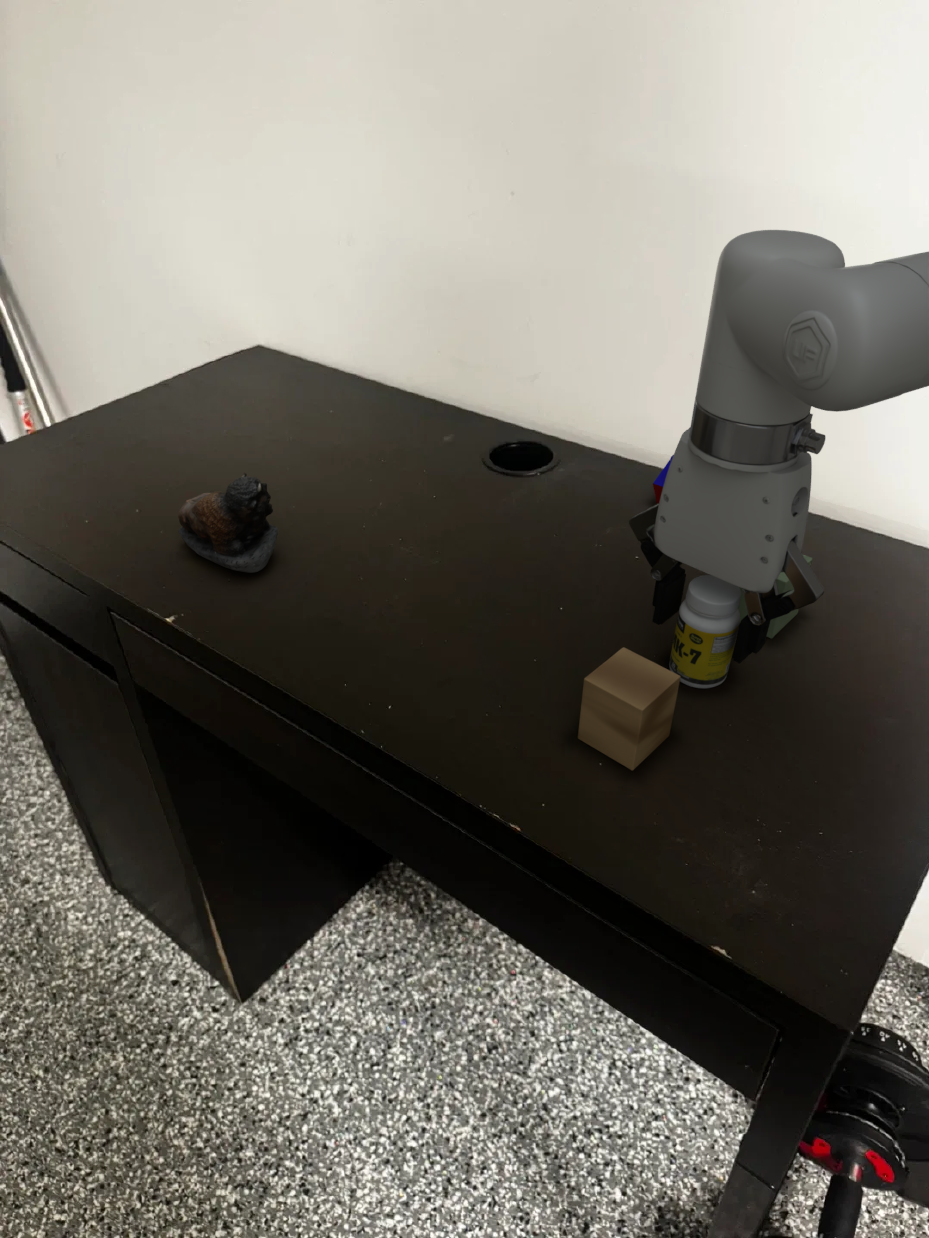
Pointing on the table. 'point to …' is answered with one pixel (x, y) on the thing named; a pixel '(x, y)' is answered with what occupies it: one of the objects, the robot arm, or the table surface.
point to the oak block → (627, 707)
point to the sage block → (783, 587)
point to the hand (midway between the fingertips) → (704, 633)
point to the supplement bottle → (706, 632)
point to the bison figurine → (231, 525)
